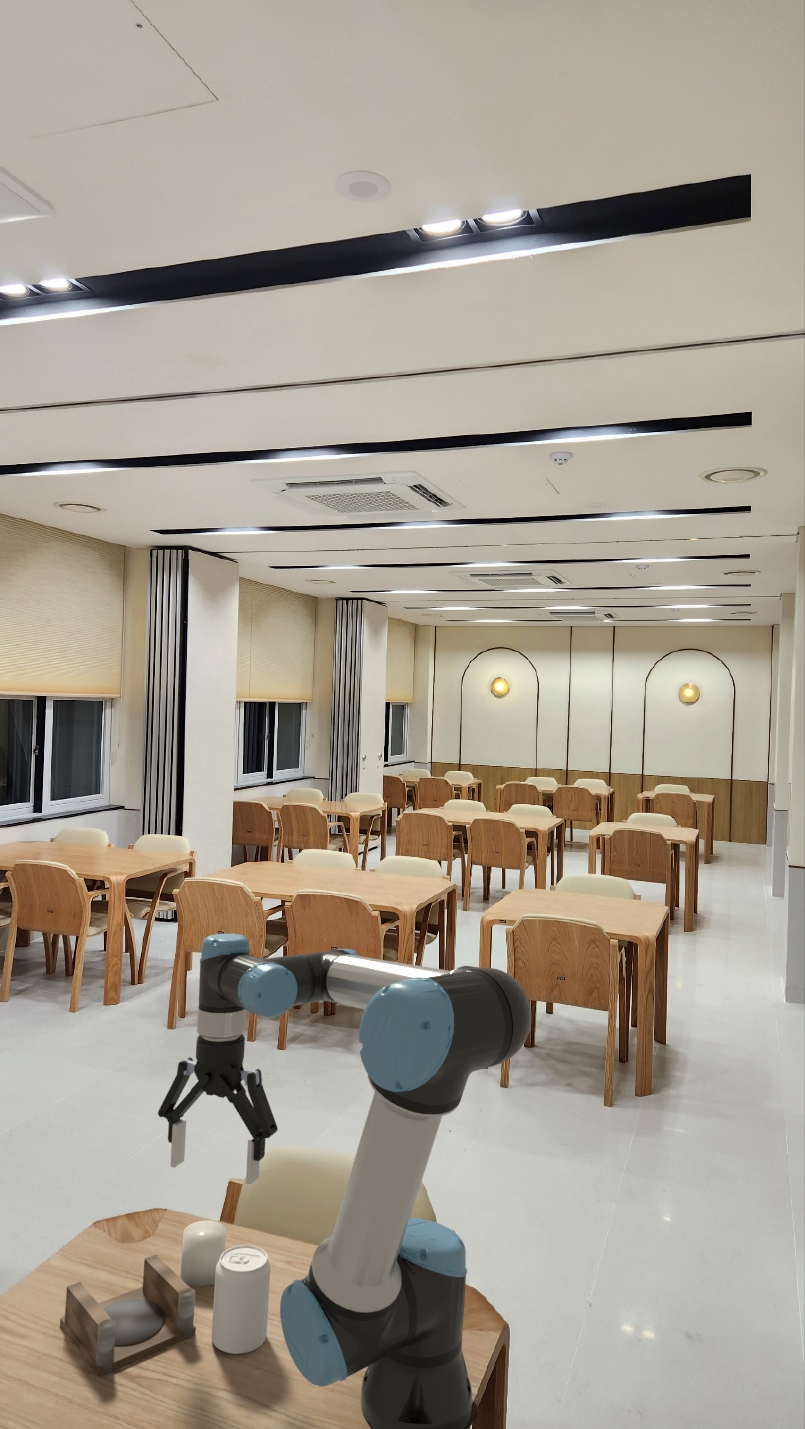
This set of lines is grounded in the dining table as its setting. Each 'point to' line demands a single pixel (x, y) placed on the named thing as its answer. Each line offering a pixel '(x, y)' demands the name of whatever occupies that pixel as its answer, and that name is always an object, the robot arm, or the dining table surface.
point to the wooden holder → (130, 1318)
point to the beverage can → (241, 1299)
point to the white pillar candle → (202, 1252)
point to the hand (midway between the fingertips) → (214, 1172)
